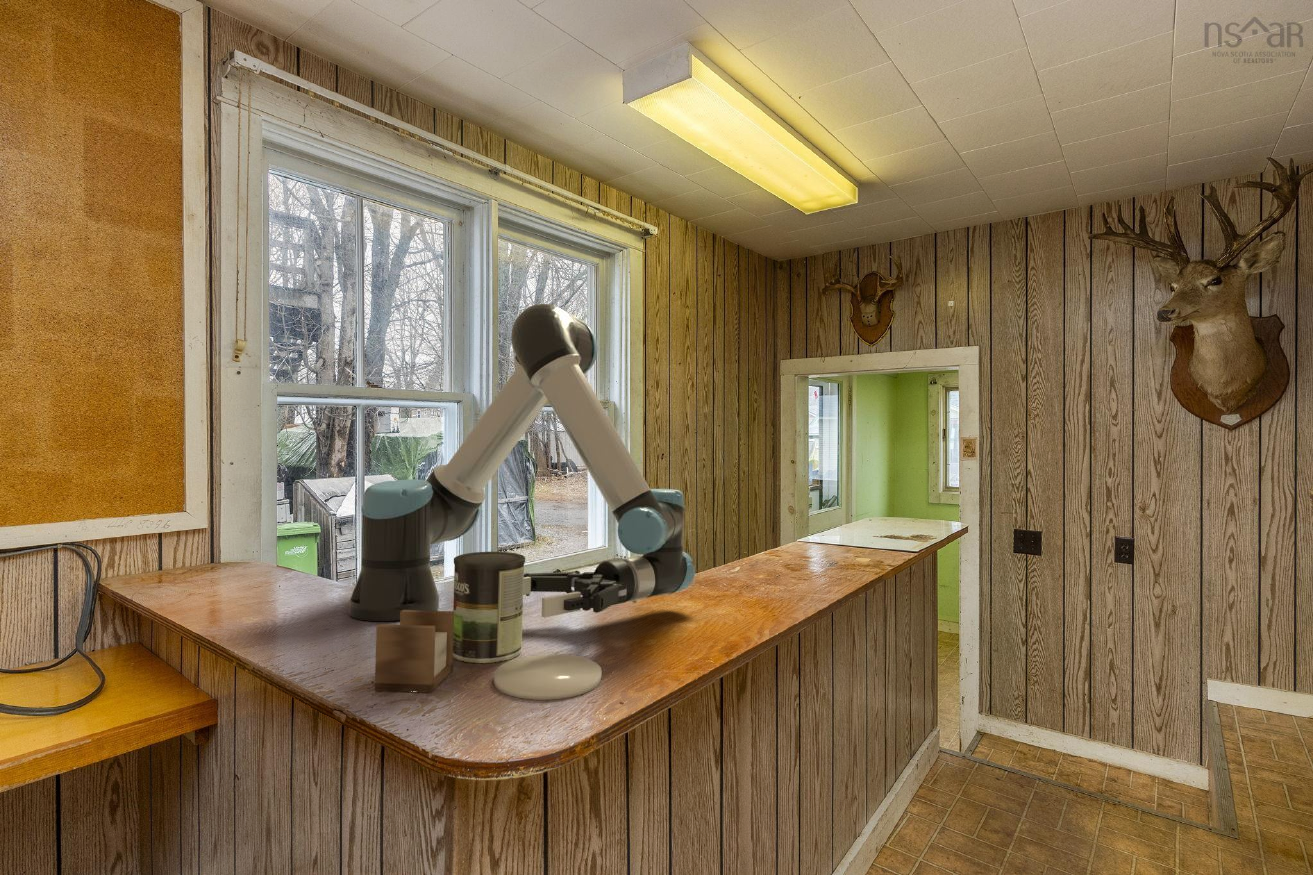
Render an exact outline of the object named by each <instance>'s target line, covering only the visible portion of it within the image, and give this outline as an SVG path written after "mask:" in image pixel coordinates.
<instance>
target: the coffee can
mask: <svg viewBox="0 0 1313 875" xmlns="http://www.w3.org/2000/svg"><path fill="white" fill-rule="evenodd" d="M525 563H526V556H524V555H523V554H519V553H517V552H516V553H515V552H509V551H475V552H474V551H473V552H468V553H462V554H459V555H457V556H455V557H453V564H454V572H453V573H454V574H453V601H452V602H453V605H452V606H453V607H452V608H453V609H452V610H453V611H454V638H453V659H455V660H456V661H460V662H463V661H464V662H463V663H469V664H481V663H483V664H494V662H496V663H501V662H505V660H506V661H510V660H513V659H514V658H516V657H518V656H520V654H522V652H523V646H522V645H523V641H522V640H523V616H524V615H523V613H524V611H523V610H524V609H523V608H524V595H523V585H524V574H525ZM500 661H501V662H500Z"/></svg>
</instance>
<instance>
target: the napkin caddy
mask: <svg viewBox="0 0 1313 875" xmlns="http://www.w3.org/2000/svg"><path fill="white" fill-rule="evenodd" d="M375 629H376V634H375V639H376V640H375V672H374V673H375V674H374V675H375V676H374V678H375V679H374V691H375V692H390V693H391V692H394V693H395V692H396V693H405V692H404V691H412V692H411V693H414V692H413V691H417V692H416V693H418V692H431V693H432V692H433V691H435V689H436V688H437V687H438V686H439V685H440V684H441V683H442V682H443V681H444V680H445V679H446V678H447V677H448V676H449V675H450V674H451V672H453V670H454V668H453V666H454V665H453V664H454V657H453V638H454V611H452V610H449V611H448V610H437V611H424V610H402V611H401V612H400V620H399V624H389V623H387V624H386V623H385V624H384V623H380V624H378V625H377V626H376V628H375ZM448 674H449V675H448ZM446 676H447V677H446ZM444 678H445V679H444ZM443 679H444V680H443ZM441 681H442V682H441ZM439 683H440V684H439ZM436 686H437V687H436ZM434 688H435V689H434ZM402 691H403V692H402Z"/></svg>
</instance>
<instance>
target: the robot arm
mask: <svg viewBox="0 0 1313 875" xmlns="http://www.w3.org/2000/svg"><path fill="white" fill-rule="evenodd" d="M510 340H511V345H512V348H513V352H514V354H515V356H514V358H513V359H514V360H513V361H514V365H515V366H514V367H515V369H514V371H513V372H512V374H511V375H510V376H509V378H508V379H507V381H506V382H505V384H504V385H503V387H502V388H501V389H500V391H499V392H498V393H497V395H496V396H495V398H494V399H493V401H492V402H491V403H490V405H489V406H488V407H487V409H486V410H485V411H484V413H483V414H482V416H481V417H480V419H479V420H478V422H476V424H475V425H474V426H473V428H472V429H471V431H470V432H469V434H468V435H467V437H466V438H465V439H464V441H462V444H461V445H460V446H459V447H458V449H457V450H456V452H455V453H454V455H453V456H452V458H451V459H450V460H449V462H448V463H446V464H441V465H436V466H435V467H434V469H433V471H431V473H430V474H429V475H428V477H427V479H426V480H424V479H415V478H414V479H413V478H412V479H411V478H407V479H396V480H388V481H381V482H376V483H374V484H371V485H370V486H368V487H367V488H366V489H365V491H364V492H363V500H362V505H361V514H362V516H361V518H362V519H361V521H362V522H361V525H362V526H361V563H360V572H359V574H358V577H357V580H356V583H355V585H354V588H353V590H352V593H351V597H350V599H349V603H348V608H349V609H348V615H349V616H350V617H352V618H354V619H357V620H362V621H371V622H391V621H392V622H394V621H400V612H401V611H402V610H424V611H439V608H440V594H439V591H438V588H437V584H436V583H435V579H434V575H433V572H432V569H431V546H432V545H436V544H439V543H445V542H450V541H454V540H457V539H459V538H461V537H462V536H464V535H465V534H468V533H470V531H471V530H472V529H473V528H474V526H476V524H477V522H478V521H479V517H480V514H481V509H480V508H481V507H480V506H481V505H482V504H483V502H484V501H485V500H486V493H485V490H484V489H485V487H486V486H487V484H489V481H490V480H492V478H493V476H494V475H495V474H496V472H497V471H498V469H499V468H500V467H501V465H502V464H503V463H504V461H505V460H506V459H507V457H508V456H509V454H510V453H511V452H512V451H513V449H514V447H515V446H516V445H517V444H518V442H519V441H520V439H521V438H522V437H523V435H525V433H526V432H527V430H528V429H529V427H530V426H531V425H532V424H533V422H534V420H536V418H537V416H538V415H539V414H540V412H541V411H542V409H543V408H544V407H545V406H546V404H547V403H549V404H550V406H551V408H552V410H553V411H554V413H555V414H556V417H557V419H558V420H559V422H560V424H561V425H562V427H563V428H564V431H565V432H566V434H567V436H568V437H569V439H570V441H571V443H572V444H573V446H574V448H575V450H576V451H577V453H578V456H580V458H581V461H582V462H583V464H584V465H585V467H586V469H587V471H588V473H589V475H590V476H591V478H592V479H593V481H594V483H595V485H596V486H597V489H598V490H599V492H600V494H601V496H602V497H603V499H604V501H605V502H606V505H607V506H608V508H609V510H610V512H611V513H612V514H613V516H614V518H615V520H616V522H617V524H618V525H617V537H618V540H619V543H621V545H622V547H624V549H626V551H629V552H630V553H632V554H636V555H638V556H631V557H625V558H624V557H623V558H620V559H619V558H618V559H613V560H611V559H609V560H604V561H602V562H601V563H599V564H598V565H597V567H596V568H595V570H594V571H593V572H591V571H583V572H581V571H579V570H572V571H563V572H562V571H561V572H559V571H558V572H540V573H539V572H537V573H536V572H533V573H528V572H526V573H524V585H523V596H526V597H530V595H531V592H533V593H563V594H557V595H551V596H545V597H541V617H542V618H550V617H553V616H560V615H564V614H569V613H574V612H579V611H581V609H582V611H585V612H586V611H587V612H588V611H590V610H591V609H592V612H594V613H601V612H603V611H604V610H606V609H608V608H610V607H611V606H615V605H616V606H617V605H620V604H624V603H627V602H631V603H632V604H637V603H638V600H644V599H648V598H652V597H658V596H664V595H672V594H675V593H678V592H681V591H683V590H686V589H687V588H689V587H690V586H691V585H692V584H693V582H694V579H695V574H696V570H695V568H696V567H695V565H694V564H693V559H692V558H691V556H690V555H689V554H688V553H686V552H685V551H684V546H683V543H684V541H683V540H684V520H685V519H684V517H685V516H684V515H685V514H684V513H685V512H684V511H685V510H686V509H685V503H684V502H685V501H684V498H685V497H684V492H682V491H681V490H679V489H672V488H671V489H670V488H650V486H649V484H648V482H647V481H646V479H645V477H644V475H643V474H642V472H641V470H640V469H639V467H638V465H637V464H636V462H635V460H634V458H633V457H632V454H630V452H629V450H628V448H627V446H626V444H625V443H624V441H623V440H622V437H621V436H620V435H619V433H618V431H617V429H616V427H615V426H614V424H613V422H612V420H611V418H610V417H609V415H608V414H607V412H606V410H605V408H604V407H603V405H602V403H601V401H600V400H599V398H598V396H597V395H596V393H595V391H594V390H593V387H592V386H591V385H590V384H591V383H590V382H589V381H588V379H587V377H586V376H585V374H586V373H588V372H589V370H591V369H592V367H593V366H594V364H595V362H596V360H597V356H598V350H599V349H598V341H597V337H596V335H595V333H594V331H593V330H592V329H591V328H590V326H589V325H588V324H587V323H585V322H584V320H582V319H580V317H578V316H575V315H574V314H571V313H569V312H567V311H565V310H564V309H563V308H560V307H559V306H556V305H553V304H548V303H539V304H534V305H532V306H528V307H527V308H526V309H524V310H523V311H522V312H520V313H519V314H518V316H517V318H516V319H515V320H514V323H513V325H512V328H511V336H510ZM640 555H641V556H640ZM572 588H573V589H572Z"/></svg>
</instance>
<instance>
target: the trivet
mask: <svg viewBox="0 0 1313 875" xmlns="http://www.w3.org/2000/svg"><path fill="white" fill-rule="evenodd" d="M602 672H603V671H602V667H601V666H600V664H598V663H597V662H595V660H594V661H593V660H591V659H590V658H586V657H582V656H579V655H578V656H577V655H573V654H562V653H561V654H560V653H545V654H536V655H535V654H533V655H528V656H523V657H519V658H515V659H514V658H513V659H510V660H508V661H506V662H505V663H503V664H501V665H500V666H498V667H497V668H496V670H495V671H494V674H493V683H494V686H495V688H496V689H497V690H498V691H499V692H501V693H503V694H506V695H508V696H510V697H514V698H518V699H524V700H534V701H537V700H538V701H540V700H541V701H543V700H544V701H547V700H548V701H549V700H550V701H551V700H560V699H568V698H573V697H577V696H579V695H584V694H586V693H588V692H590V691H591V692H592V691H593V690H594V689H595V688H597V687H598V686H599V685H600V684H601V682H602Z"/></svg>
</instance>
